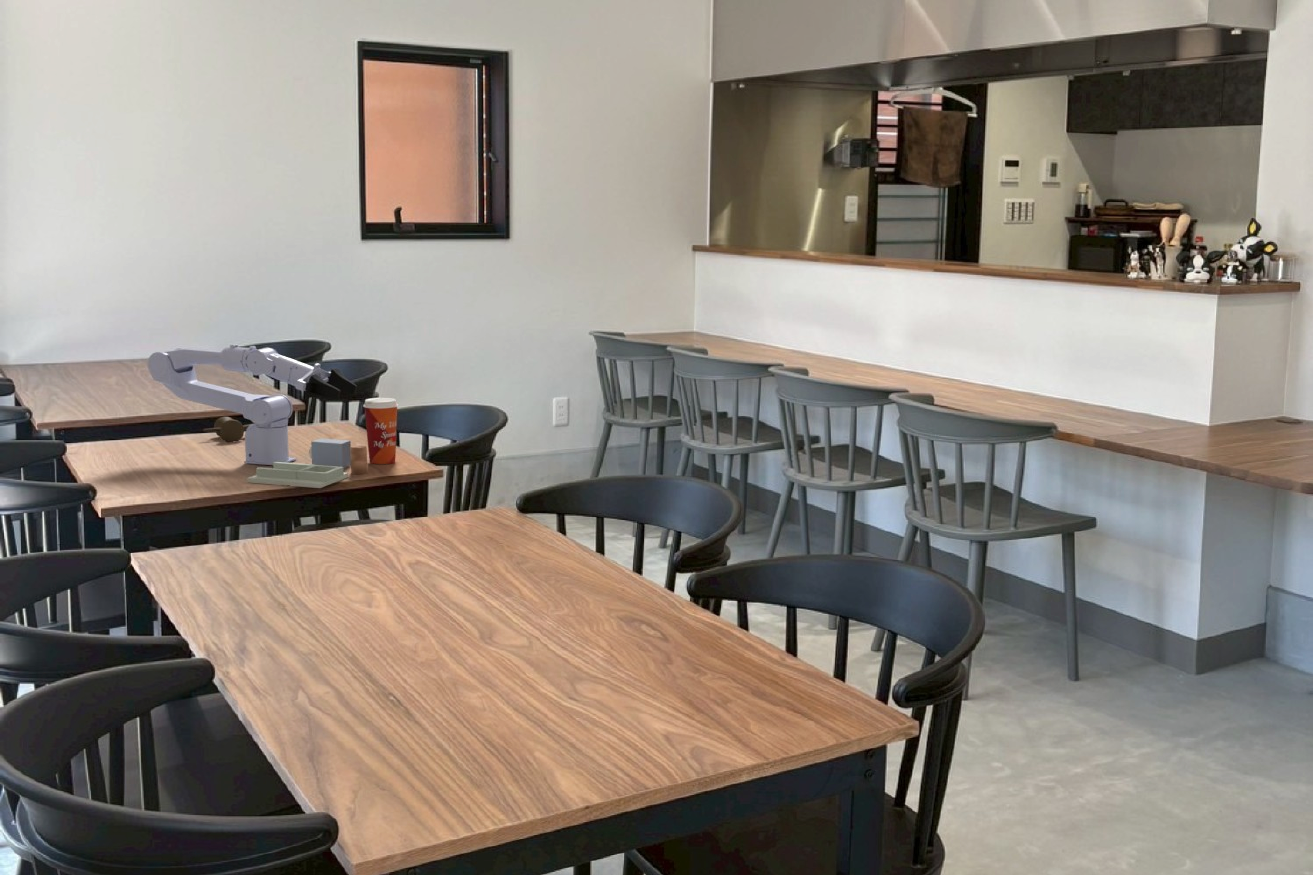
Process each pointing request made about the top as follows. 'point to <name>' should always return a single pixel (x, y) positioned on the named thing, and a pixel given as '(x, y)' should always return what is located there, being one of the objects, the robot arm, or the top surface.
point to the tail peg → (358, 460)
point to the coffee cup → (381, 429)
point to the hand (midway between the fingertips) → (347, 392)
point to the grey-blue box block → (330, 452)
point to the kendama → (228, 429)
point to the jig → (298, 475)
